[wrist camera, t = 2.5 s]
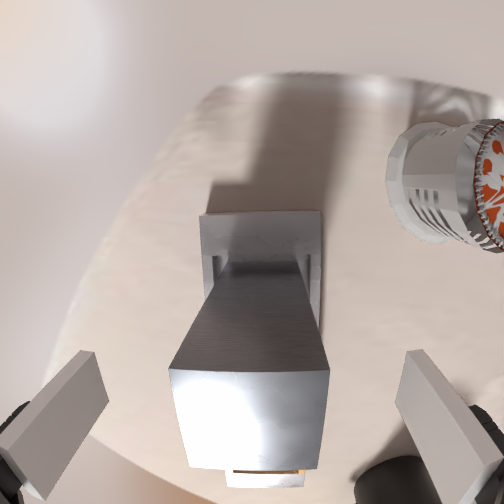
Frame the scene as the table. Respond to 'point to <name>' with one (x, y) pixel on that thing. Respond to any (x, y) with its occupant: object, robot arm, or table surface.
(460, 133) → the french press
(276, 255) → the rail
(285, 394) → the graphite post
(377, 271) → the table surface
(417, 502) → the mug
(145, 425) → the table surface
